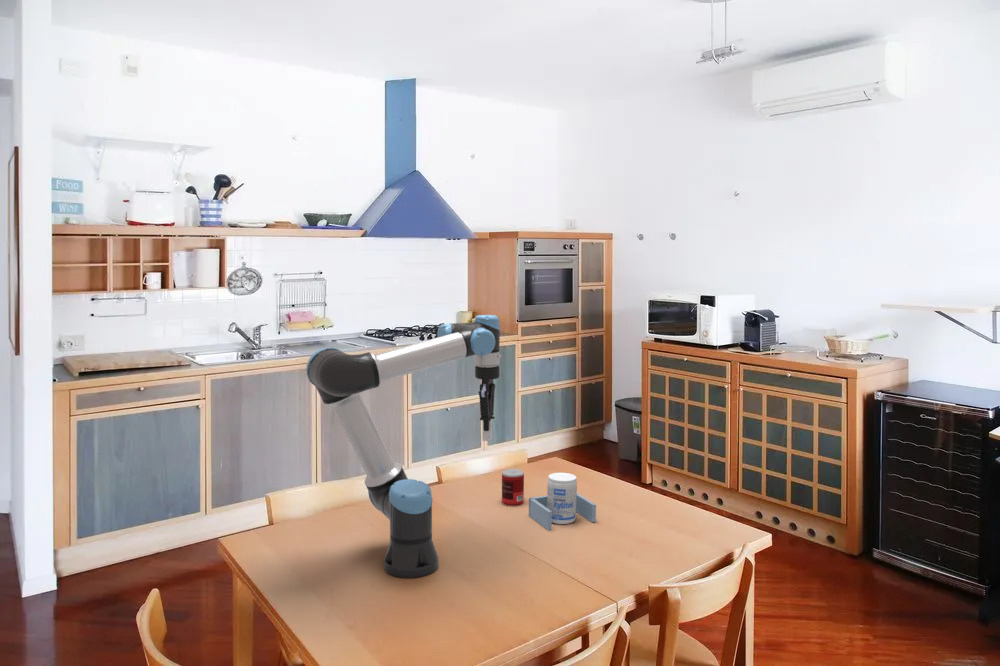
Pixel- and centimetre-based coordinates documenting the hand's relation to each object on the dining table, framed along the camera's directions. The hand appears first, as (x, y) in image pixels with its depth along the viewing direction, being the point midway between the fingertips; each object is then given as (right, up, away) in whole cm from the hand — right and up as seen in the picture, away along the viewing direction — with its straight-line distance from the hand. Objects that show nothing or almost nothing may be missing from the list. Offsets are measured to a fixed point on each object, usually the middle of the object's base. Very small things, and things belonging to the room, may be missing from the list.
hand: (487, 440), depth 232 cm
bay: (+24, -28, +14) cm, 40 cm away
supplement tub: (+24, -28, +14) cm, 40 cm away
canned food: (+9, -26, +30) cm, 41 cm away
